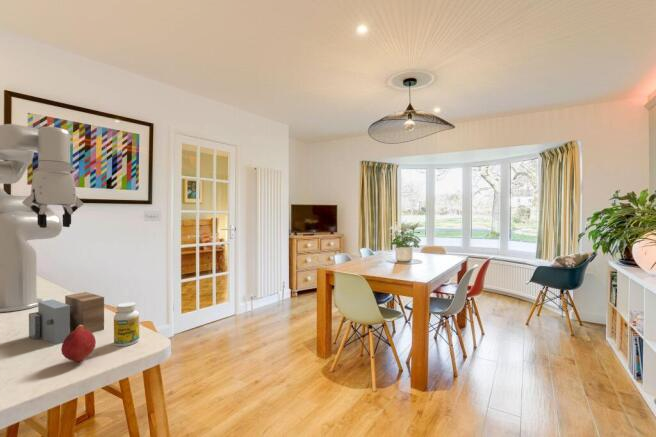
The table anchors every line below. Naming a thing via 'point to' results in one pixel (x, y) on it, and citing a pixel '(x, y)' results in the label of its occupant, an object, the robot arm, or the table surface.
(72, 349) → the onion
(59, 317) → the pale blue tall prism
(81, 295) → the brown tall rectangular block
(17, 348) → the table surface
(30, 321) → the gray wooden bench
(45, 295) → the table surface
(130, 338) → the supplement bottle
